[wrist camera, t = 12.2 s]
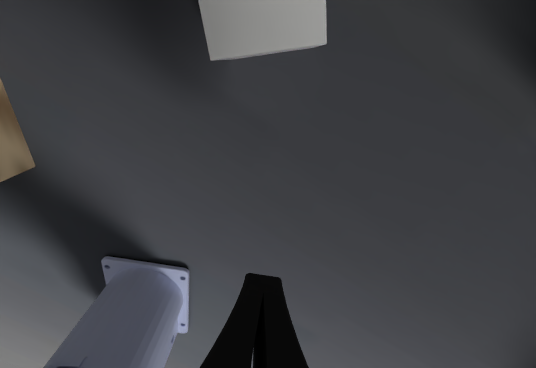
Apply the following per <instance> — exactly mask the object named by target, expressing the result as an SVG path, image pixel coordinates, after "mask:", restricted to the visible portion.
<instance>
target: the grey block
mask: <svg viewBox="0 0 536 368" xmlns="http://www.w3.org/2000/svg"><path fill="white" fill-rule="evenodd" d="M198 2H199V6H200V11H201V16H202V21H203V26H204V31H205V36H206V40H207V45H208V50H209V55H210V60H211V61H212V60H229V59H237V58H244V57H251V56H258V55H265V54H272V53H279V52H286V51H293V50H300V49H307V48H314V47H317V46H321V45H325V44H327V37H326V0H198Z"/></svg>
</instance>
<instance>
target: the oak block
mask: <svg viewBox="0 0 536 368" xmlns="http://www.w3.org/2000/svg"><path fill="white" fill-rule="evenodd" d="M33 167H36V166H35V164H34V161H33V159H32V156H31V154H30V151H29V149H28V146H27V144H26V141H25V139H24V136H23V134H22V131H21V129H20V126H19V124H18V121H17V119H16V116H15V114H14V111H13V109H12V106H11V104H10V101H9V99H8V96H7V94H6V91H5V89H4V86H3V84H2V81H1V79H0V182H2V181H4V180H6V179H9V178H11V177H13V176H15V175H18V174H20V173H22V172H24V171H27V170H29V169H31V168H33Z"/></svg>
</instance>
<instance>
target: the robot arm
mask: <svg viewBox="0 0 536 368" xmlns="http://www.w3.org/2000/svg"><path fill="white" fill-rule="evenodd" d="M101 263H102V268H103V273H104V278H105V283H106V287H105V288H104V289H103V291H102V292H101V293H100V295H99V296H98V297H97V298H96V300H95V301H94V302H93V304H92V305H91V306H90V308H89V309H88V310H87V312H86V313H85V314H84V315H83V317H82V318H81V319H80V321H79V322H78V323H77V325H76V326H75V327H74V328H73V330H72V331H71V332H70V334H69V335H68V336H67V338H66V339H65V340H64V341H63V343H62V344H61V345H60V347H59V348H58V349H57V351H56V352H55V353H54V354H53V356H52V357H51V358H50V360H49V361H48V362H47V364H46V365H45V366H44V368H164V367H165V364H166V361H167V359H168V356H169V354H170V351H171V348H172V346H173V343H174V340H175V338H176V335H177V332H178V333H186V332H187V331H188V324H189V270H188V269H186V268H182V267H176V266H169V265H163V264H156V263H149V262H143V261H136V260H129V259H123V258H116V257H110V256H105V257H104V258H103V259H102V260H101ZM253 347H254V350H253ZM252 354H253V368H309V367H308V365H307V363H306V360H305V357H304V355H303V352H302V350H301V347H300V344H299V342H298V339H297V336H296V333H295V330H294V327H293V324H292V321H291V318H290V315H289V311H288V308H287V304H286V300H285V296H284V292H283V287H282V281H281V279H280V278H279V277H273V276H266V275H259V274H253V273H248V274H246V276H245V280H244V284H243V287H242V289H241V292H240V295H239V297H238V299H237V301H236V304H235V306H234V308H233V310H232V312H231V314H230V316H229V318H228V320H227V322H226V324H225V326H224V328H223V329H222V331H221V333H220V335H219V336H218V338H217V340H216V342H215V343H214V345H213V347H212V349H211V350H210V352H209V354H208V355H207V357H206V358H205V360H204V362H203V363H202V365H201V366H200V368H251V361H252Z"/></svg>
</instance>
